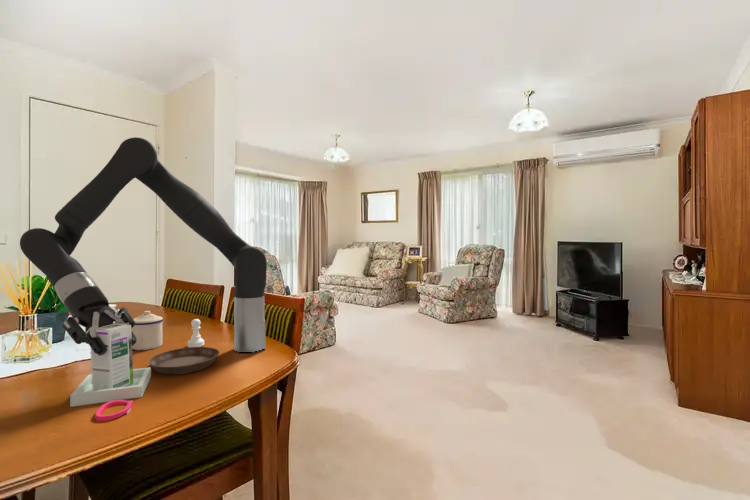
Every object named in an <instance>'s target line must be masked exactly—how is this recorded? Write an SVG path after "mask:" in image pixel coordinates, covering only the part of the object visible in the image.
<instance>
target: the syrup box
mask: <svg viewBox="0 0 750 500" xmlns="http://www.w3.org/2000/svg"><path fill="white" fill-rule="evenodd" d="M96 332H97V336H96V338H97V337H99V338H100V339H101V341H102V342H103V344H104V345H105V347H106V348H107V351H106V352H105V353H104V355H101V356H99V355H98V354H96V353H94V351H93V350H92V348H91V347H90V359H91V362H90V363H91V374H92V387H93V390H103V389H111V388H119V387H125V386H128V385H130V384H133V369H134V368H133V365H134V364H133V349H132V333H131V325H130V324H129V323H128V324H124V323H116V322H115V323H114V322H113V324H111V325H106V326H102V327H98V328H96Z"/></svg>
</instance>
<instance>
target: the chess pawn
mask: <svg viewBox="0 0 750 500" xmlns="http://www.w3.org/2000/svg"><path fill="white" fill-rule="evenodd" d="M190 323H191V326H192V327H191V328H190V329H191V330H193V332H192V335H191V336H190V339H189V340H188V341H187V348H190V347H201V346H202V347H204V346H205V339H203V337H202V335H201V334H200V332H199V331H200V329H201V328H202V327H201V326H200V325H201V320H200V319H199V318H194V319H192V320H191V322H190ZM203 345H204V346H203Z"/></svg>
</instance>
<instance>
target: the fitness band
mask: <svg viewBox="0 0 750 500" xmlns="http://www.w3.org/2000/svg"><path fill="white" fill-rule="evenodd" d="M133 403H134V400H130V399H129V400H127V399H124V400H115V401H109V402H104V403H103V404H102V405H101V406H100V407H98V409H97V410H96V412H95V414H94V419H95V420H96V421H97V422H109V421H112V420H115V419H116V418H117V419H118V418H119V417H122V416H123V415H128V414H129V413H130V412H131V410H132V409H133ZM122 405H123V406H124V405H125V407H124V408H123V409H122V410H120V411H118V412H115V413H112V414H106V415H103V414H104V412H105V411H107V409H109V408H112V407H115V406H122Z"/></svg>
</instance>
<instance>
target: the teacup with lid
mask: <svg viewBox="0 0 750 500" xmlns="http://www.w3.org/2000/svg"><path fill="white" fill-rule="evenodd" d="M133 320H134V321H135V323H136V324H135V326H134V327H133V328H132V329H131V331H132V333H133V334H134V335H135V337H136V339H137V340H136V343H135V344H134V345H133V346H132V350H135V351H147V350H148V351H149V350H154V349H157V348H160V347H161V346H163V322H164V318H163V317H162V316H159V315H156V314H154V313H151V311H150V310H145V311H143V313H142V314H140V315H139V316H137V317H135V318H134V317H133Z"/></svg>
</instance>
